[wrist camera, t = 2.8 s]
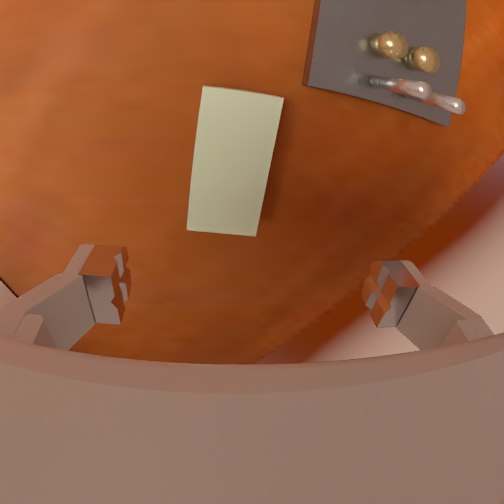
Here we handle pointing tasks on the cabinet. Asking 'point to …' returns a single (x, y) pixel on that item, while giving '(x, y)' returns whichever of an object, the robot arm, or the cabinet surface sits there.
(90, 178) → the cabinet surface
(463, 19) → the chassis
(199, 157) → the board
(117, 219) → the cabinet surface
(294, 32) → the cabinet surface
